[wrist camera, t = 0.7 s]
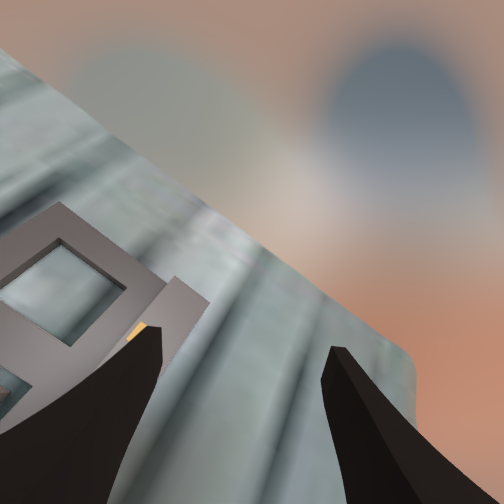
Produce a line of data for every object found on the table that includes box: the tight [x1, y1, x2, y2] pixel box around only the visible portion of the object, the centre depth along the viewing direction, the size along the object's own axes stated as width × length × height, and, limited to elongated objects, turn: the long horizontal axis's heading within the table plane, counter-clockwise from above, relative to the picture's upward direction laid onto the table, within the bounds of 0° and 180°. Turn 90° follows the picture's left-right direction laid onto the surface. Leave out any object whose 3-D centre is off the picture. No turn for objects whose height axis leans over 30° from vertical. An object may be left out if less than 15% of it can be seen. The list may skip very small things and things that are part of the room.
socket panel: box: [0, 202, 210, 434], centre depth 18 cm, size 20×16×4 cm
